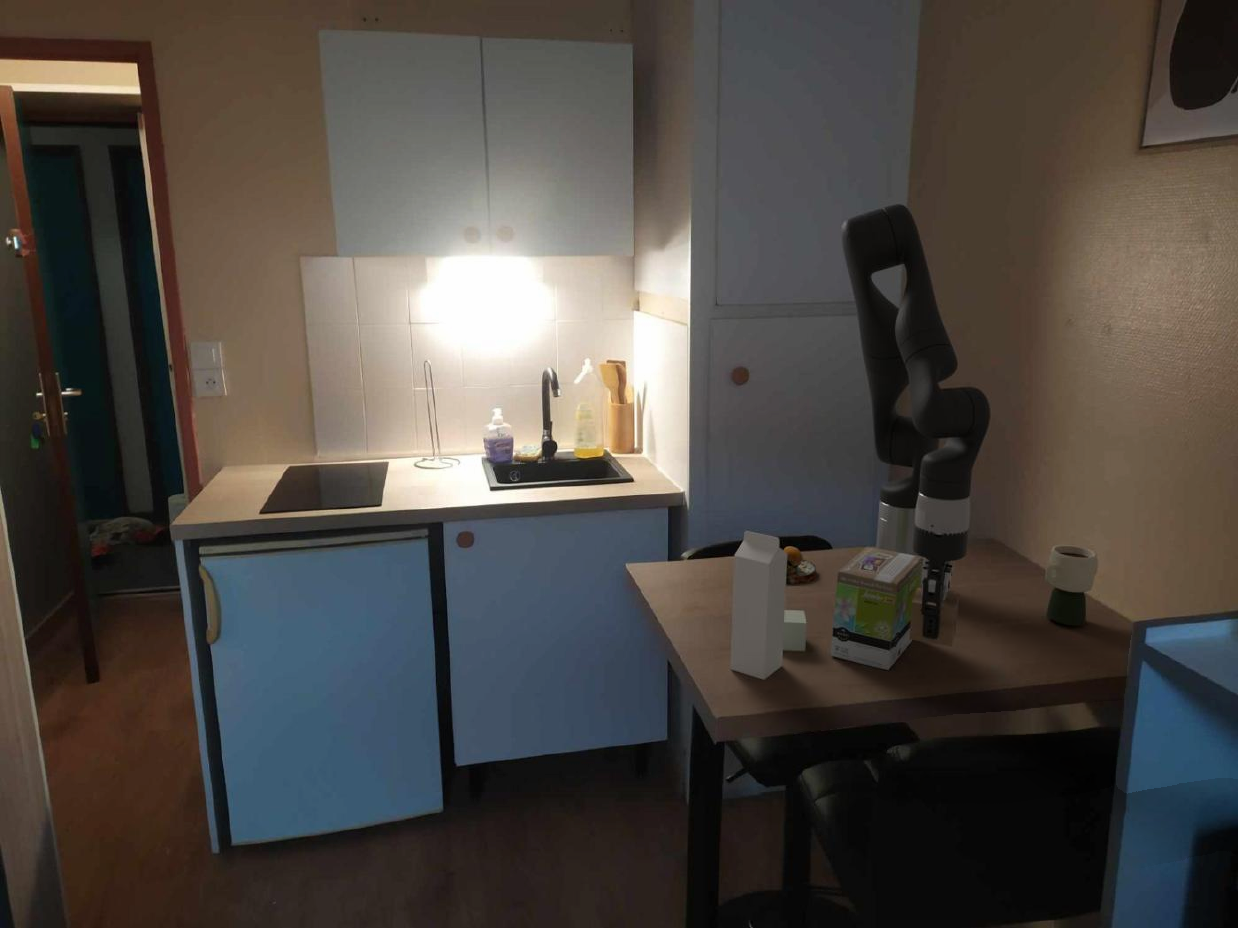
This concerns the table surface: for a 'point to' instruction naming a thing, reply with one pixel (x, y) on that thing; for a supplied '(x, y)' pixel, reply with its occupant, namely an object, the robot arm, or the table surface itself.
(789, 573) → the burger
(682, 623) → the table surface
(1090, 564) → the character mug
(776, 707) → the table surface
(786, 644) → the sage block
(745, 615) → the milk
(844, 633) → the tea box
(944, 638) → the walnut cube
